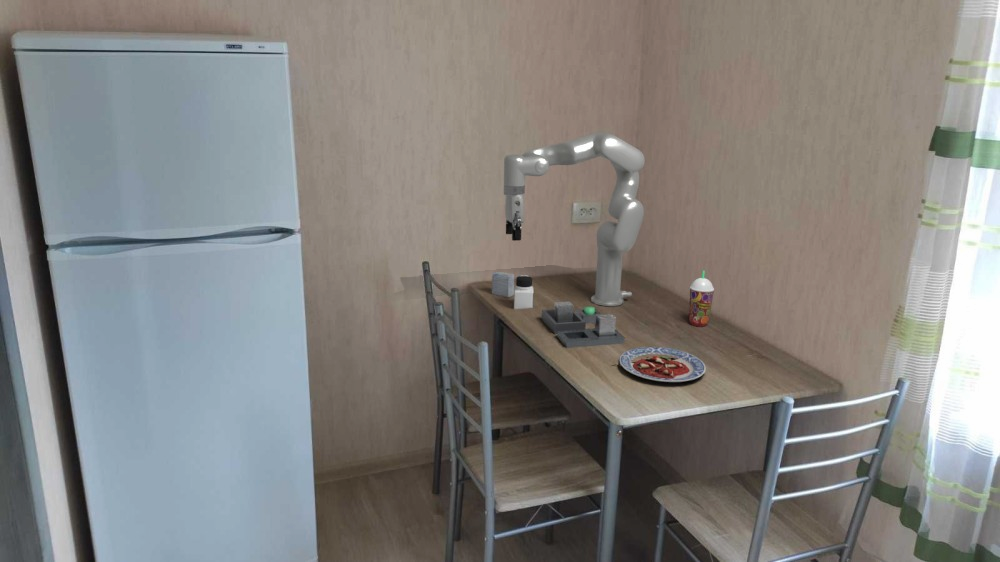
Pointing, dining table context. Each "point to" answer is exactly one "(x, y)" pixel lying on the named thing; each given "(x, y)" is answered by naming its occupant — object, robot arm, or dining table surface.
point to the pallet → (587, 338)
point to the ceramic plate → (663, 365)
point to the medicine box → (503, 284)
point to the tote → (551, 323)
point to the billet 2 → (605, 325)
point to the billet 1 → (563, 312)
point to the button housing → (588, 316)
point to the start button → (589, 310)
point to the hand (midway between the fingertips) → (513, 237)
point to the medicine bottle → (523, 292)
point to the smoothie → (700, 301)
